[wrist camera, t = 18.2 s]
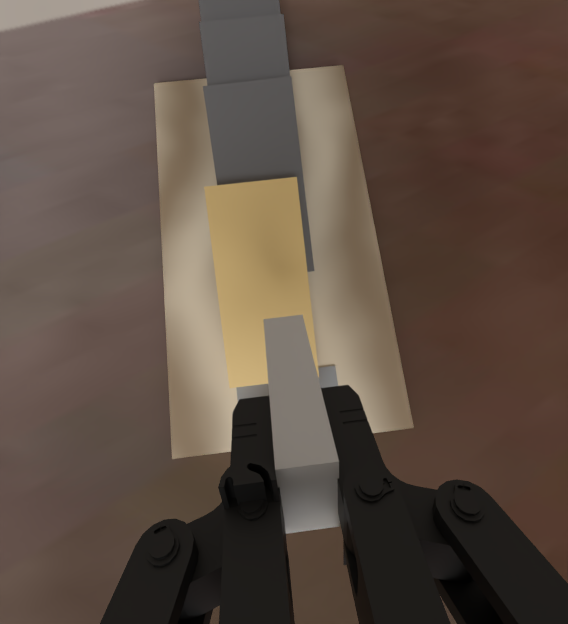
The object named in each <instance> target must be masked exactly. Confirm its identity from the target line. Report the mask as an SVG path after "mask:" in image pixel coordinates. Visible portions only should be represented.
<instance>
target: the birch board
mask: <svg viewBox="0 0 568 624" xmlns="http://www.w3.org/2000/svg"><path fill="white" fill-rule="evenodd" d="M290 76H291V78H292V86H293V94H294V103H295V111H296V120H297V128H298V136H299V145H300V153H301V162H302V170H303V178H304V187H305V195H306V204H307V212H308V221H309V229H310V237H311V246H312V254H313V263H314V271H311V272H308V281H309V290H310V299H311V308H312V317H313V326H314V335H315V344H316V353H317V361H318V370H319V377H318V379H319V383H320V387H321V388H326V387H334V386H342V385H349V386H350V387H351V388H352V389H353V390H354V391H355V392H356V393H357V394H358V395H359V397H360V400H361V403H362V406H363V409H364V411H365V414H366V416H367V420H368V422H369V425H370V427H371V430H372V433H378V432H386V431H394V430H401V429H409V428H414V427H413V422H412V416H411V411H410V406H409V401H408V396H407V391H406V386H405V380H404V375H403V370H402V365H401V360H400V355H399V350H398V344H397V339H396V334H395V329H394V324H393V319H392V314H391V308H390V303H389V298H388V293H387V288H386V283H385V278H384V272H383V267H382V262H381V257H380V252H379V247H378V242H377V236H376V231H375V226H374V221H373V216H372V211H371V206H370V200H369V195H368V190H367V185H366V180H365V175H364V169H363V164H362V159H361V154H360V149H359V144H358V139H357V133H356V128H355V123H354V118H353V113H352V108H351V103H350V97H349V92H348V87H347V82H346V77H345V72H344V67H343V65H338V66H328V67H318V68H307V69H297V70H290ZM203 86H207V79H206V78H204V79H194V80H184V81H173V82H163V83H154V93H155V113H156V134H157V155H158V175H159V196H160V217H161V238H162V258H163V279H164V300H165V320H166V341H167V362H168V382H169V403H170V424H171V445H172V459H176V458H184V457H191V456H199V455H207V454H215V453H222V452H230V451H231V440H232V414H233V410H234V408H235V407H236V405H237V403H238V401H239V399H245V398H253V397H261V396H269V384H260V385H252V386H244V387H236V388H229V380H228V372H227V364H226V356H225V348H224V340H223V332H222V324H221V316H220V309H219V301H218V293H217V285H216V277H215V269H214V261H213V253H212V245H211V237H210V229H209V221H208V214H207V206H206V198H205V190H204V187H206V186H216V185H217V180H216V174H215V167H214V160H213V153H212V146H211V139H210V132H209V126H208V119H207V112H206V105H205V98H204V91H203Z"/></svg>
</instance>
